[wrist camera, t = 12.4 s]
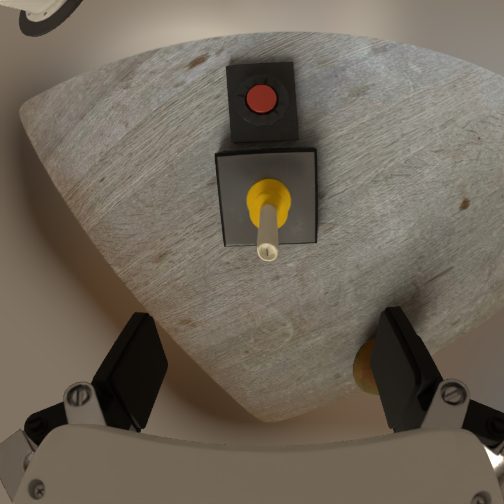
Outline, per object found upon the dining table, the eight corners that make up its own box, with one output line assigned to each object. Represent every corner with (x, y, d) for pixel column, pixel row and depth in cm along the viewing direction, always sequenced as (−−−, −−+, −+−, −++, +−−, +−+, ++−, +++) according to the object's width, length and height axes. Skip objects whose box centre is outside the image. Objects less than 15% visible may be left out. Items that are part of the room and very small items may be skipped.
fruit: (399, 310, 42) (421, 350, 33) (411, 353, 47) (428, 390, 37) (338, 340, 45) (349, 383, 36) (358, 378, 50) (368, 417, 40)
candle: (256, 226, 35) (246, 297, 21) (240, 187, 33) (216, 234, 19) (296, 212, 34) (315, 275, 20) (281, 172, 32) (292, 207, 18)
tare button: (246, 87, 28) (245, 85, 27) (275, 86, 28) (275, 83, 27) (248, 113, 30) (247, 112, 28) (276, 112, 29) (277, 111, 28)
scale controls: (227, 68, 30) (223, 62, 27) (292, 64, 29) (294, 58, 26) (232, 142, 34) (229, 144, 31) (297, 139, 33) (299, 140, 30)
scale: (217, 151, 34) (213, 153, 31) (313, 147, 33) (317, 148, 30) (226, 240, 39) (223, 248, 36) (314, 236, 38) (318, 245, 35)
